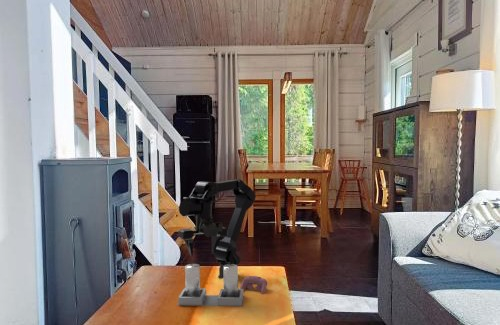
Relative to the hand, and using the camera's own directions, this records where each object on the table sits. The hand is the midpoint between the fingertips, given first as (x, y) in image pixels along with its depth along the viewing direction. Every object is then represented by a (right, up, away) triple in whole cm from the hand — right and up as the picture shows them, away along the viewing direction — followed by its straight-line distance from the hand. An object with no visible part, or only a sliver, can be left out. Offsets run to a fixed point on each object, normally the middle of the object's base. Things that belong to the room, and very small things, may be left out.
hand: (202, 254), depth 138 cm
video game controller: (+20, -13, -4) cm, 24 cm away
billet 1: (-2, -13, -12) cm, 18 cm away
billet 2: (+12, -13, -13) cm, 21 cm away
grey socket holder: (+5, -14, -13) cm, 19 cm away
